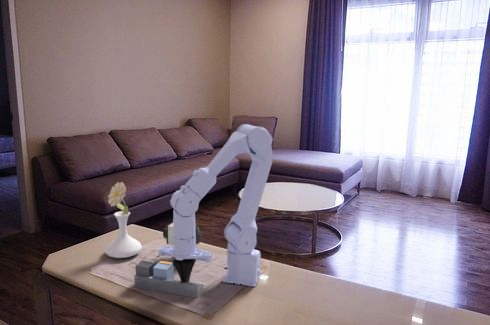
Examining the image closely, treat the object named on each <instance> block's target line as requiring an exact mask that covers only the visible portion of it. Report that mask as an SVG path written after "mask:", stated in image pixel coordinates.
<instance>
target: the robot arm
mask: <svg viewBox="0 0 490 325" xmlns="http://www.w3.org/2000/svg"><path fill="white" fill-rule="evenodd" d="M273 140H274V138H273V137H272V135H271V134H270V132H269V131H268V130H267V128H266V127H262V126H255V125H252V124H249V123H244V124H241V125H239V127H237V129H236V131H234V132H232V133H231V135H230V137H229V138H228V140H227V141H226V142H225V144H224V145H223V147H221V148H220V150H219V151H218V152H217V154H216V155H215V156H214V158H213V159H212V160H211V161H210V162H209V164H208V165H207V166H206V167H199V168H198V169H197V170H196V169H195V170H194V171H193V172H192V176H191V177H190V178H189V180H188V181H187V182H185V184H184V185H183V184H182V185H181V186H180V189H178V190H176V191H175V192H173V194H172V195H171V199H170V200H169V204H170V206H171V207H172V208H173V210H172V211H173V214H172V215H173V219H172V222H173V236H174V245H173V246H161V247H159V248H158V257H163V256H166V257H171V258H174V259H173V261H172V263H173V267H174V268H175V270H176V271H177V274H178V276H179V279H180V281H182V282H190V281H191V280H190V278H191V274H192V272H193V268H194V266H195V264H196V261H201V262H205V263H207V264H210V263H211V262H212V260H213V253H212V252H208V251H204V250H203V249H199V248H196V247H197V246H196V245H197V244H196V235H195V225H196V212H197V211H198V209H199V204H200V202H201V200H202V199H203V198H204V197H205V196H206V195H207V193H208V192H209V191H210V190H211V189H212V188H213V187H214V186H215V185H216V183H217V176H218V175H219V174H220V172H222V171H223V169H225V168H226V166H227V165H228V164H229V163H231V161H232V160H234V158H235V157H237V156H238V155H243V154H248V156H249V157H250V159H251V161H252V162H251V165H250V168H249V172H248V175H247V179H246V182H245V184H244V189H243V191H242V195H241V198H240V201H239V205H238V208H237V210H236V211H237V212H236V213H235V214H233V215H232V216H231V218H230V221H229V223H228V224H227V225H226V226H225V228H224V232H223V235H224V238H225V239H226V241H227V247H226V249H227V252H226V254H227V255H226V264H227V265H226V273H225V276H224V277H223V278H222V282H223V283H226V282H227V284H233V283H235V284H234V285H240V284H242V285H241V286H247V287H253V288H254V287H256V285H257V283H258V280H259V278H260V276H261V257H262V255H261V250H258V249H255V248H256V246H257V244H258V242H257V241H258V240H257V233H258V227H257V222H256V218H257V214H258V211H259V208H260V204H261V200H262V198H263V194H264V191H265V187H266V183H267V180H268V178H269V174H270V171H271V167H272V165H273V159H274V155H273V149H272V148H273V147H272V143H273Z"/></svg>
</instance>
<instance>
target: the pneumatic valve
mask: <svg viewBox="0 0 490 325" xmlns="http://www.w3.org/2000/svg"><path fill="white" fill-rule="evenodd" d="M195 235H196V245H199V244H200V243H201V241H202V238H203V234H202V231H201V230H200V229H199V224H195ZM162 236H163V238H164V239H165V241H166V245H170V246H174V236H173V221H172V222H170V223H168V224H166V225H165V227H164V228H163V231H162Z"/></svg>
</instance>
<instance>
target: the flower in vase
mask: <svg viewBox="0 0 490 325" xmlns="http://www.w3.org/2000/svg"><path fill="white" fill-rule="evenodd" d="M126 191H127V187H126V185H125V184H124V182H123V181H121V182H119V181H118V182H116V183H115V184H114V185H113V186H111V190H110V192H109V194H108V196H107V198H108V200H107V201H108V202H107V203H108V204H109V205H110V207H115V206H116V208H117V209H119V210H121V211H116V212H114V213H113V215H114V216H113V217H115V218H116V220H117V223H118V228H119V230H118V232H119V233H118V236H117V237H116V238H115V239H113V240H112V241H111V242H110V243H109V244H108V245H107V246H106V248H105V251H104V252H105V254H106V255H107V256H108V257H109V258H110V257H111V258H115V259H123V258H129V257H133V256H135V255H137V254H139V253H140V252H141V250H142V248H143V246H142V244H141V242H140V241H139V240H138V239H135V238H133V237H132V236H130V235H129V234H128V230H127V224H128V219H129V216H130V214H131V212H130V211H129V206H128V205H126V202H125V200H124V198H125V196H126ZM121 202H123V204H121Z"/></svg>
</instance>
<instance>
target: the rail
mask: <svg viewBox="0 0 490 325" xmlns="http://www.w3.org/2000/svg"><path fill="white" fill-rule="evenodd" d="M155 265H157V260H152V259H146V258H145V259H142V260H141V261H140V262H138V263H137V264H136V265H135V274H134V288H135V289H141V290H148V291H154V292H160V293H165V294H172V295H176V296H177V295H178V296H183V297H184V296H185V297H191V298H198V297H199V296H200V294H201V292H202V291H203V290H202V289H204V288H205V286H204V284H203V283H197V282H190V281H189V282H182V281H181V280H175V279H174V280H169V279H163V278H156V277H153V267H154V266H155ZM203 287H204V288H203ZM201 290H202V291H201Z"/></svg>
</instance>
